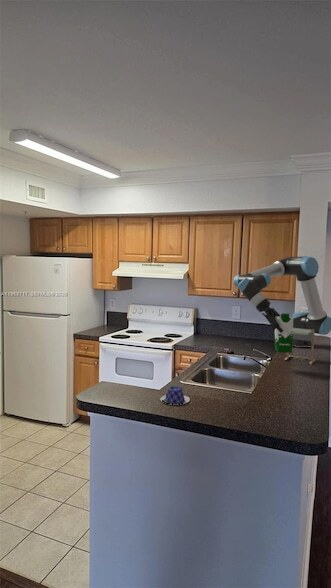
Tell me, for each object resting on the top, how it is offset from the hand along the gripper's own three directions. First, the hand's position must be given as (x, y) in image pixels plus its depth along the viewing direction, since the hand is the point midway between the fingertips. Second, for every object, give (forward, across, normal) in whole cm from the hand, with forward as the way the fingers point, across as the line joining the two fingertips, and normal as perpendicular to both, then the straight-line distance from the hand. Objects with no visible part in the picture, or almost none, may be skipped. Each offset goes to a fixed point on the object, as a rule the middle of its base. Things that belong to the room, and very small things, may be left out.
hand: (289, 335), depth 194 cm
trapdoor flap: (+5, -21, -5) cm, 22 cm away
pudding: (-6, +70, -32) cm, 77 cm away
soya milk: (+4, 0, -9) cm, 10 cm away
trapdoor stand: (+13, -24, -14) cm, 31 cm away
